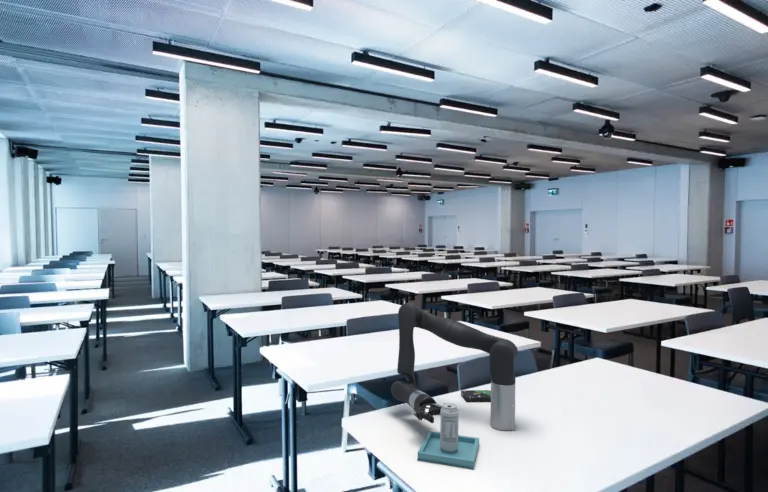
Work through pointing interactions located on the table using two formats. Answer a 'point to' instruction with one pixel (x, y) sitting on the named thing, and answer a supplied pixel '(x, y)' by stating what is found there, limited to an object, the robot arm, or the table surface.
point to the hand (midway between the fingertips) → (443, 418)
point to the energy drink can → (449, 428)
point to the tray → (460, 458)
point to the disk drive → (476, 395)
